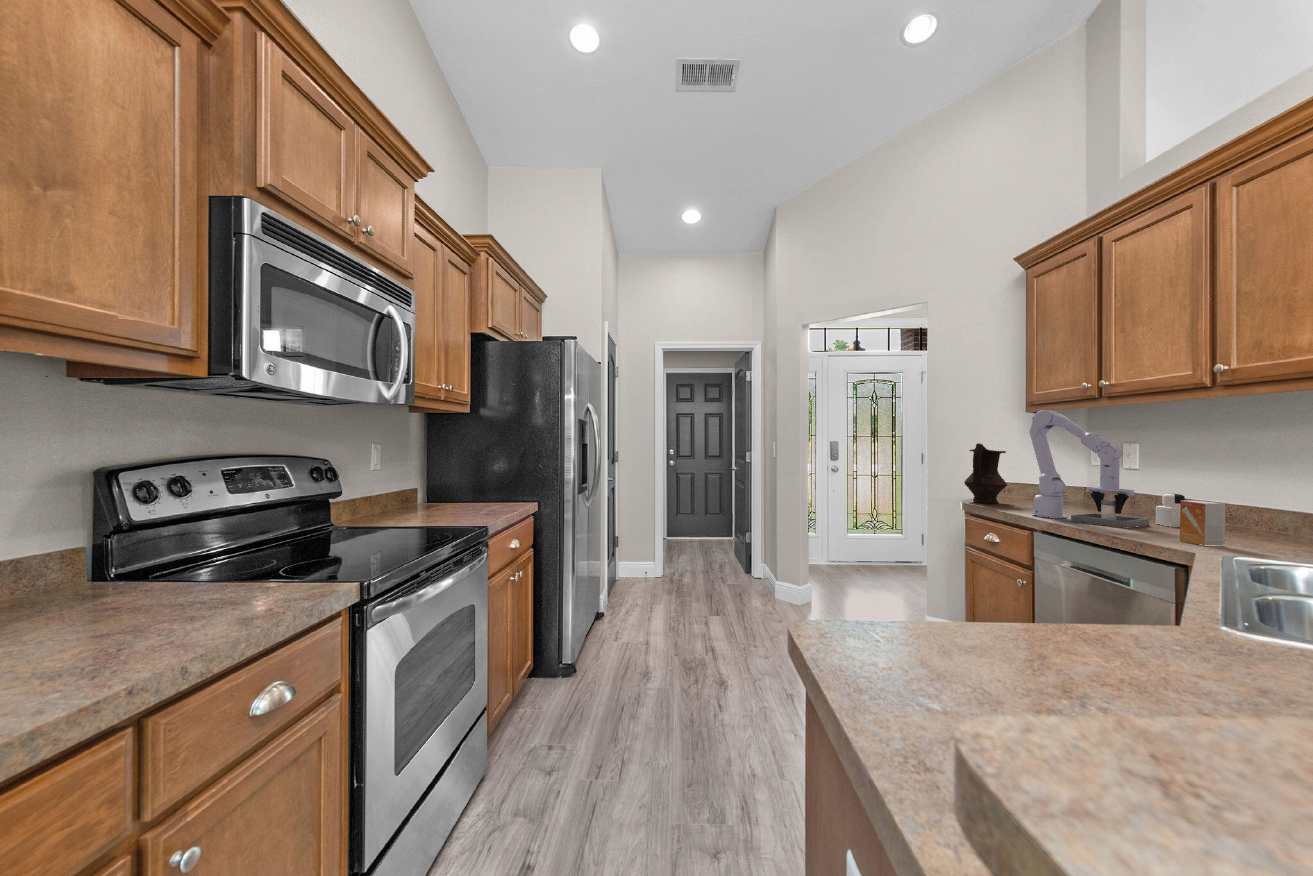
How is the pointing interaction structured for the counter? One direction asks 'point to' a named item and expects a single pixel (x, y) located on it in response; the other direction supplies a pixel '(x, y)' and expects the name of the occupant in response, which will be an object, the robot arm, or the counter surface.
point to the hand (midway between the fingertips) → (1109, 512)
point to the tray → (1119, 522)
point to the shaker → (1108, 509)
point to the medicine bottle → (1169, 510)
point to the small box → (1202, 522)
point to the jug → (985, 475)
